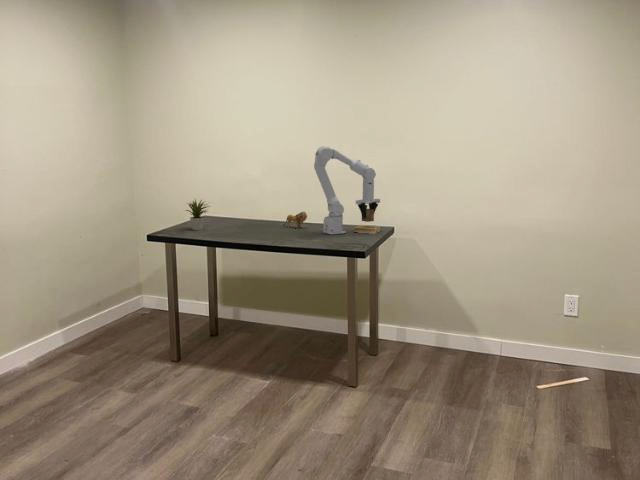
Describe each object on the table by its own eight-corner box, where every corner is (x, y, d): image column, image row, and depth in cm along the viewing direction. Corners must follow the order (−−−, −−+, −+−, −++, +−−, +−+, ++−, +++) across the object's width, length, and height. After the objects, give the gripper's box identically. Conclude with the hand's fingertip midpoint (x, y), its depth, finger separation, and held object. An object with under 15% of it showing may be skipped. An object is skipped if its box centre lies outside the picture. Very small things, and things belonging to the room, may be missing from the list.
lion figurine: (308, 228, 321) (308, 211, 319) (304, 229, 316) (304, 212, 315) (285, 225, 328) (285, 209, 326) (280, 227, 323) (280, 210, 321)
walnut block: (366, 221, 306) (367, 210, 305) (361, 220, 310) (361, 209, 308) (373, 221, 308) (374, 209, 307) (368, 220, 312) (368, 208, 311)
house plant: (204, 232, 305) (203, 200, 302) (179, 231, 308) (178, 199, 305) (215, 228, 319) (214, 197, 316) (190, 227, 321) (189, 196, 318)
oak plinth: (375, 234, 303) (375, 229, 303) (354, 232, 307) (354, 227, 306) (380, 230, 313) (380, 225, 313) (360, 229, 317) (360, 224, 316)
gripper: (361, 192, 299) (361, 219, 301) (384, 191, 307) (383, 217, 309) (353, 191, 305) (352, 217, 307) (375, 189, 313) (375, 215, 315)
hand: (367, 217), depth 309 cm, fingers closed on walnut block, 4 cm apart
